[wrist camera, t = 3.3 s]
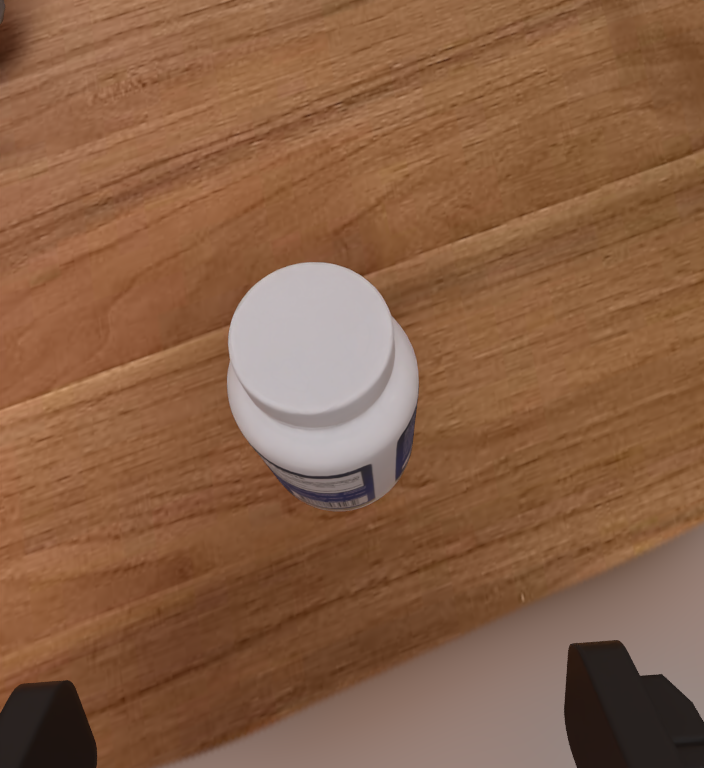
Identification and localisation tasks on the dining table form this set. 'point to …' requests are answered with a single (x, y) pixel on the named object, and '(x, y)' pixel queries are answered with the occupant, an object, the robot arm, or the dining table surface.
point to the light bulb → (2, 10)
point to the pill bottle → (323, 384)
